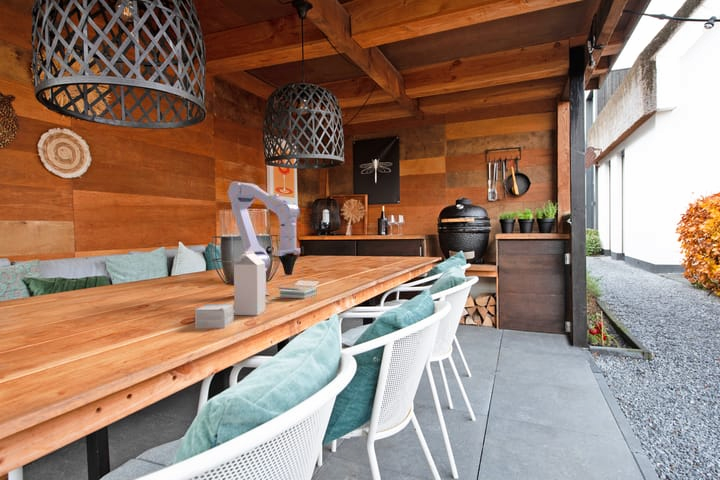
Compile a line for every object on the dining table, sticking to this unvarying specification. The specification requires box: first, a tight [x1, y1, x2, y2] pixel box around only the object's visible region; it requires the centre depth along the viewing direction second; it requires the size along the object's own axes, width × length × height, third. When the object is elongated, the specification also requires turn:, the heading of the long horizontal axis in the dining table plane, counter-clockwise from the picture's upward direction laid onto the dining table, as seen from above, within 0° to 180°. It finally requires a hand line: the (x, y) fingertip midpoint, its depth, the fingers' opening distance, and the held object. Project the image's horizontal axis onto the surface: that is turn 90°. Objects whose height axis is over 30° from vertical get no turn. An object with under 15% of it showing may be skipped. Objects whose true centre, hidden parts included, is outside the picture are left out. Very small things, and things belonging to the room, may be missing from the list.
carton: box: [279, 285, 318, 300], centre depth 151 cm, size 10×10×3 cm
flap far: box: [293, 279, 320, 288], centre depth 157 cm, size 1×9×4 cm
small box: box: [194, 303, 235, 329], centre depth 107 cm, size 8×8×5 cm
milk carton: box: [233, 250, 266, 316], centre depth 120 cm, size 7×7×19 cm
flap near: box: [275, 285, 303, 291], centre depth 144 cm, size 1×9×4 cm
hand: (288, 274), depth 144 cm, fingers closed
